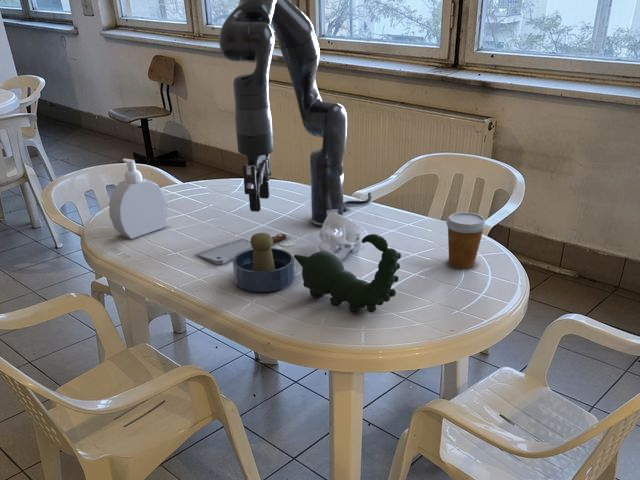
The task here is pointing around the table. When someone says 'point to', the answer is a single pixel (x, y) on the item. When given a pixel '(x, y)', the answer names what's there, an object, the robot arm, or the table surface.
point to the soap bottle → (137, 205)
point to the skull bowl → (340, 235)
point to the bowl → (264, 272)
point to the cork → (262, 252)
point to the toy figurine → (351, 277)
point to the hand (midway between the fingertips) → (260, 204)
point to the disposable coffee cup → (464, 238)
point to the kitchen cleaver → (232, 250)
